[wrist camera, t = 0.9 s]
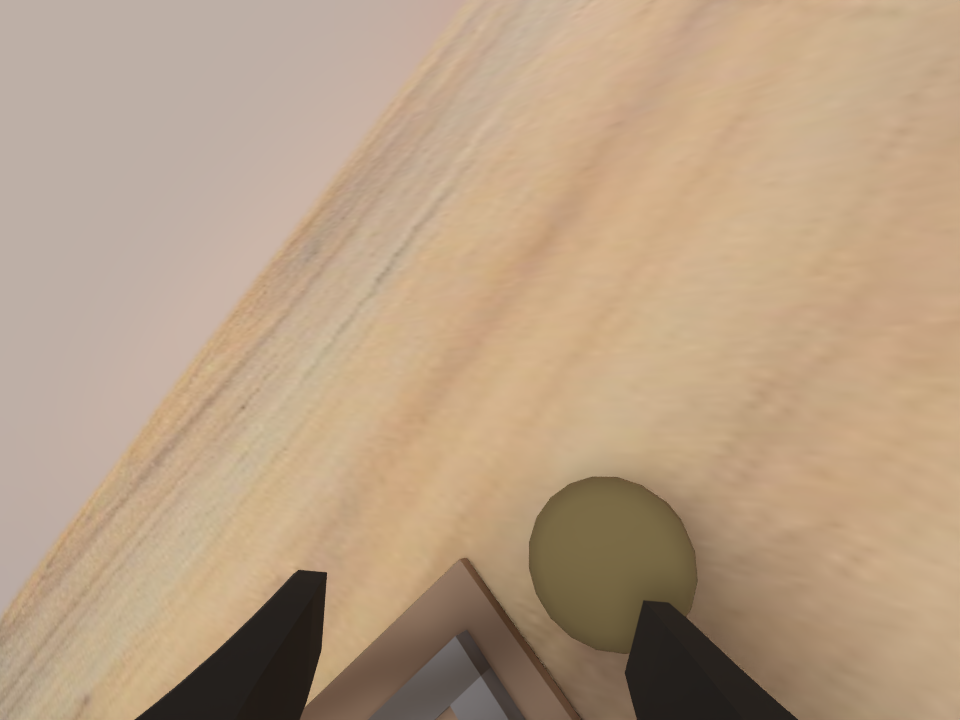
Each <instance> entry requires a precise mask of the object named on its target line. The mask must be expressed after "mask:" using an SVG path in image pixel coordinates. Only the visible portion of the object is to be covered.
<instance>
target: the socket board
mask: <svg viewBox="0 0 960 720" xmlns="http://www.w3.org/2000/svg"><path fill="white" fill-rule="evenodd" d="M300 720H581V719H580V718H579V716H578V715H577V713H576V712H575V710H574V709H573V708H572V706H571V705H570V703H569V702H568V701H567V699H566V698H565V696H564V695H563V694H562V692H561V691H560V689H559V688H558V686H557V685H556V684H555V682H554V681H553V679H552V678H551V677H550V675H549V674H548V672H547V671H546V670H545V668H544V667H543V665H542V664H541V663H540V661H539V660H538V658H537V657H536V655H535V654H534V653H533V651H532V650H531V648H530V647H529V646H528V644H527V643H526V641H525V640H524V639H523V637H522V636H521V634H520V633H519V631H518V630H517V629H516V627H515V626H514V624H513V623H512V622H511V620H510V619H509V617H508V616H507V615H506V613H505V612H504V610H503V609H502V608H501V606H500V605H499V603H498V602H497V600H496V599H495V598H494V596H493V595H492V593H491V592H490V591H489V589H488V588H487V586H486V585H485V584H484V582H483V581H482V579H481V578H480V577H479V575H478V574H477V572H476V571H475V569H474V568H473V567H472V565H471V564H470V562H469V561H468V560H467V558H463V559H459V560H458V561H457V562H456V563H455V564H454V565H453V566H452V567H451V568H450V569H449V570H448V571H447V572H446V573H445V574H444V575H443V576H442V577H440V578H439V579H438V580H437V581H436V582H435V583H434V584H433V585H432V586H431V587H430V588H429V589H428V590H427V591H426V592H425V593H424V594H423V595H422V596H421V597H420V598H419V599H418V600H417V601H415V602H414V603H413V604H412V605H411V606H410V607H409V608H408V609H407V610H406V611H405V612H404V613H403V614H402V615H401V616H400V617H399V618H398V619H397V620H396V621H395V622H394V623H393V624H392V625H390V626H389V627H388V628H387V629H386V630H385V631H384V632H383V633H382V634H381V635H380V636H379V637H378V638H377V639H376V640H375V641H374V642H373V643H372V644H371V645H370V646H369V647H368V648H367V649H365V650H364V651H363V652H362V653H361V654H360V655H359V656H358V657H357V658H356V659H355V660H354V661H353V662H352V663H351V664H350V665H349V666H348V667H347V668H346V669H345V670H344V671H343V672H342V673H340V674H339V675H338V676H337V677H336V678H335V679H334V680H333V681H332V682H331V683H330V684H329V685H328V686H327V687H326V688H325V689H324V690H323V691H322V692H321V693H320V694H319V695H318V696H317V697H315V698H314V699H313V700H312V701H311V702H310V703H309V704H308V705H307V706H306V707H305V708H304V710H303V712H302V715H301V717H300Z"/></svg>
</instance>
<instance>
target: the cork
mask: <svg viewBox="0 0 960 720" xmlns="http://www.w3.org/2000/svg"><path fill="white" fill-rule="evenodd" d="M529 569H530V573H531V577H532V580H533V584H534V588H535V591H536V594H537V596H538V598H539V599H540V601H541V603H542V604H543V606H544V608H545V609H546V611H547V613H548V614H549V616H550V618H551V619H552V620H553V621H555V622H556V623H557V624H558V625H559V626H560V627H561V628H562V629H563V630H564V631H565V632H566V633H567V634H568V635H569V636H570V637H572V638H574V639H576V640H578V641H580V642H582V643H584V644H586V645H588V646H590V647H592V648H594V649H596V650H601V651H609V652H616V653H623V654H627V653H630V651H631V647H632V643H633V639H634V635H635V631H636V627H637V623H638V619H639V615H640V611H641V608H642V604H643V600H647V601H658V602H669V603H670V604H671V605H672V606H674V607H675V608H676V609H677V610H678V611H679V612H680V613H681V614H683V615H684V616H685V617H686V616H687V614H688V613H689V611H690V610H691V607H692V602H693V598H694V594H695V589H696V585H697V571H696V560H695V551H694V549H693V546H692V544H691V542H690V539H689V537H688V534H687V532H686V530H685V527H684V525H683V523H682V521H681V519H680V518H679V517H678V515H677V514H676V513H675V512H674V511H673V509H672V508H671V507H670V506H669V504H668V503H667V502H665V501H664V500H662V499H661V498H659V497H658V496H657V495H655V494H654V493H652V492H651V491H649V490H648V489H646V488H645V487H643V486H642V485H639V484H636V483H633V482H630V481H627V480H624V479H621V478H618V477H590V478H587V479H584V480H580V481H577V482H574V483H571V484H569V485H567V486H566V487H565V488H563V489H562V490H561V491H559V492H558V493H556V494H555V495H554V496H552V497H551V498H550V499H549V501H548V502H547V504H546V505H545V506H544V508H543V509H542V511H541V512H540V514H539V515H538V516H537V519H536V522H535V525H534V528H533V531H532V535H531V538H530V541H529Z"/></svg>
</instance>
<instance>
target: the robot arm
mask: <svg viewBox="0 0 960 720" xmlns="http://www.w3.org/2000/svg"><path fill="white" fill-rule="evenodd" d="M326 580H327V572H316V571H305V570H298V571H297V572H295V573H294V574H293V575H292V576H291V577H290V578H289V579H288V580H287V581H286V582H285V584H284V585H283V586H282V587H281V588H280V589H279V590H278V591H277V592H276V593H275V594H274V595H273V596H272V597H271V598H270V599H269V600H268V601H267V602H266V603H265V604H264V605H263V606H262V607H261V608H260V609H259V610H258V611H257V612H256V613H255V614H254V616H253V617H251V618H250V619H249V620H248V621H247V622H246V623H245V624H244V625H243V626H242V627H241V628H240V629H239V630H238V631H237V632H236V633H235V634H234V635H233V636H232V637H231V638H230V639H229V640H228V641H226V642H225V643H224V644H223V645H222V646H221V647H220V648H219V649H218V650H217V651H216V652H215V653H213V654H212V655H211V656H210V657H209V658H208V659H207V660H206V661H204V662H203V663H202V664H201V665H200V666H199V667H198V668H196V669H195V670H194V671H193V672H192V673H191V674H190V675H188V676H187V677H186V678H185V679H184V680H183V681H182V682H180V683H179V684H178V685H177V686H176V687H175V688H173V689H172V690H171V691H170V692H169V693H167V694H166V695H165V696H164V697H162V698H161V699H160V700H159V701H158V702H156V703H155V704H154V705H153V706H151V707H150V708H149V709H148V710H146V711H145V712H144V713H142V714H141V715H140V716H139V717H137V718H136V719H135V720H300V717H301V715H302V712H303V710H304V707H305V704H306V702H307V698H308V695H309V691H310V688H311V685H312V681H313V678H314V674H315V671H316V667H317V664H318V660H319V656H320V653H321V648H322V634H323V621H324V607H325V593H326ZM625 675H626V679H627V683H628V687H629V691H630V695H631V699H632V703H633V706H634V710H635V714H636V717H637V720H798V719H797V718H796V717H794V716H793V715H792V714H791V713H790V712H789V711H787V710H786V709H785V708H784V707H783V706H781V705H780V704H779V703H778V702H777V701H776V700H775V699H774V698H772V697H771V696H770V695H769V694H768V693H767V692H766V691H765V690H763V689H762V688H761V687H760V686H759V685H758V684H757V683H756V682H755V681H753V680H752V679H751V678H750V677H749V676H748V675H747V674H746V673H745V672H744V671H743V670H741V669H740V668H739V667H738V666H737V665H736V664H735V663H734V662H733V661H732V660H731V659H730V658H729V657H727V656H726V655H725V654H724V653H723V652H722V651H721V650H720V649H719V648H718V647H717V646H716V645H715V644H714V643H713V642H711V641H710V640H709V639H708V638H707V637H706V636H705V635H704V634H703V633H702V632H701V631H700V630H699V629H698V628H697V627H696V626H694V625H693V624H692V623H691V622H690V621H689V620H688V619H687V618H686V617H685V616H684V615H683V614H681V613H680V612H679V611H678V610H677V609H676V608H675V607H674V606H672V605H671V604H670V603H669V602H658V601H647V600H643V604H642V608H641V611H640V615H639V619H638V623H637V627H636V631H635V635H634V639H633V643H632V647H631V651H630V655H629V659H628V662H627V666H626V670H625Z"/></svg>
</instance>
